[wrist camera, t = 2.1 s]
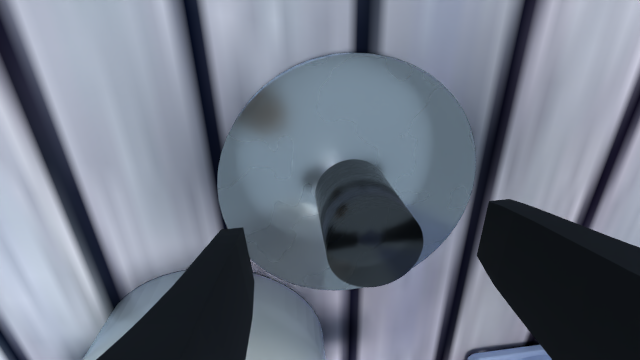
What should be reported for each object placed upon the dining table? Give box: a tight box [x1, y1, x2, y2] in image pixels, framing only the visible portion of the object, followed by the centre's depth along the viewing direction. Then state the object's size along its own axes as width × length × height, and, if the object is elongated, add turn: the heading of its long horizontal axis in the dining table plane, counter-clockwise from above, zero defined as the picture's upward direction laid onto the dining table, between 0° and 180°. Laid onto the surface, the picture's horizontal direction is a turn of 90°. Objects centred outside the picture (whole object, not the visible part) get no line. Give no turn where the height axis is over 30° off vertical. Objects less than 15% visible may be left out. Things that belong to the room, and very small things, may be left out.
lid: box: [217, 52, 476, 290], centre depth 11 cm, size 10×10×4 cm
